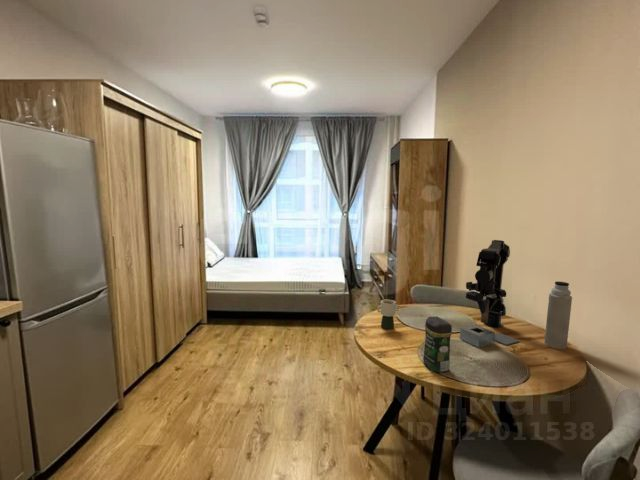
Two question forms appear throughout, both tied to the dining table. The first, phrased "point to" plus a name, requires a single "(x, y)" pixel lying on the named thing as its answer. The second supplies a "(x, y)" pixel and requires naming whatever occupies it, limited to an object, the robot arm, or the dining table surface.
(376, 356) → the dining table surface
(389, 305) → the character mug
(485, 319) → the brown cylinder rod
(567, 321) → the thermos bottle
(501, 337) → the pad
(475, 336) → the plate
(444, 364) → the coffee jar
